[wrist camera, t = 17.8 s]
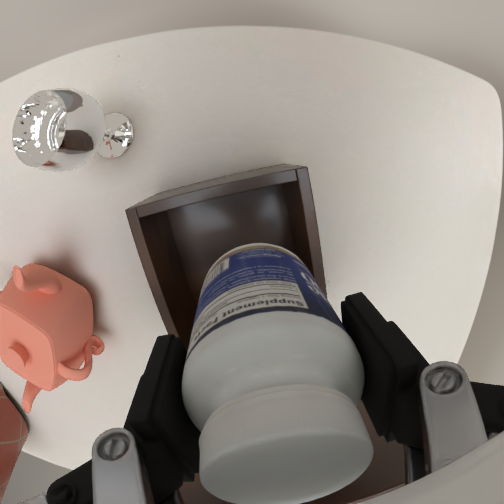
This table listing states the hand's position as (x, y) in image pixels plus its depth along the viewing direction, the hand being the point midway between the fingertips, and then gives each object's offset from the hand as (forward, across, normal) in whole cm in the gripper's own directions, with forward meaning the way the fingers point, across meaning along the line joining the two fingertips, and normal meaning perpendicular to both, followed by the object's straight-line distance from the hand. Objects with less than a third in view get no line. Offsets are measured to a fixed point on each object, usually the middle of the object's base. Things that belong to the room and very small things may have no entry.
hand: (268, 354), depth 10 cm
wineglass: (+19, +10, -12) cm, 24 cm away
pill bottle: (+5, 0, 0) cm, 5 cm away
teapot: (+19, +24, +3) cm, 31 cm away
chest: (+19, +1, +2) cm, 19 cm away
